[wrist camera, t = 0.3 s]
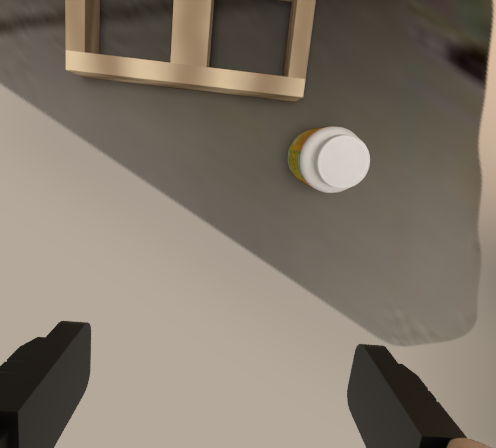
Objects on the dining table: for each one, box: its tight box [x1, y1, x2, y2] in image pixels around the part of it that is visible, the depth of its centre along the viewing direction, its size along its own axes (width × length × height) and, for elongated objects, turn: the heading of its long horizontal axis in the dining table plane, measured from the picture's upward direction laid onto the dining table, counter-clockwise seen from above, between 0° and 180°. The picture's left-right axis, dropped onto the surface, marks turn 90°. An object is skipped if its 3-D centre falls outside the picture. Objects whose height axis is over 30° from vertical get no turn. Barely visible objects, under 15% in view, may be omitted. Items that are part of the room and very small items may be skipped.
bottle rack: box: [65, 0, 316, 102], centre depth 31 cm, size 20×10×4 cm, turn 84°
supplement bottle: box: [288, 126, 370, 193], centre depth 31 cm, size 5×5×10 cm
